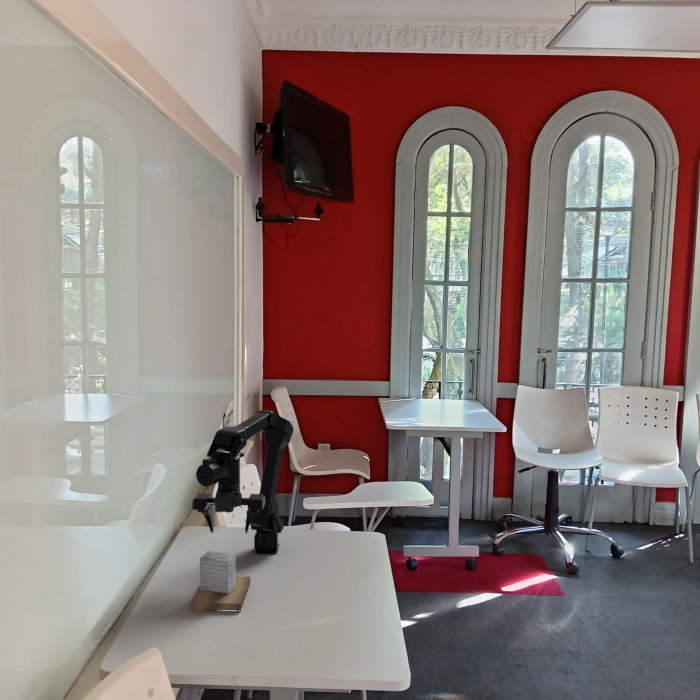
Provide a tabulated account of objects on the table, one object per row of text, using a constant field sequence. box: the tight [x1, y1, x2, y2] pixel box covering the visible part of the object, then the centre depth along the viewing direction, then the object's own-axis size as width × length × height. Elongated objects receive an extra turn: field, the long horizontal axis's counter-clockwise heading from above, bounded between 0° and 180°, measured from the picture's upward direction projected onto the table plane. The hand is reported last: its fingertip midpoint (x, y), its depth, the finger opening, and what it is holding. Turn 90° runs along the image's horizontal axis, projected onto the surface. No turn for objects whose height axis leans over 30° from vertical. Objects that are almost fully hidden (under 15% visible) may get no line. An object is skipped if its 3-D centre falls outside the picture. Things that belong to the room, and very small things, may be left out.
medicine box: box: [199, 550, 237, 594], centre depth 152 cm, size 8×4×9 cm, turn 76°
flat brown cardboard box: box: [190, 575, 251, 612], centre depth 152 cm, size 12×14×3 cm
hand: (229, 532), depth 163 cm, fingers open, 9 cm apart
